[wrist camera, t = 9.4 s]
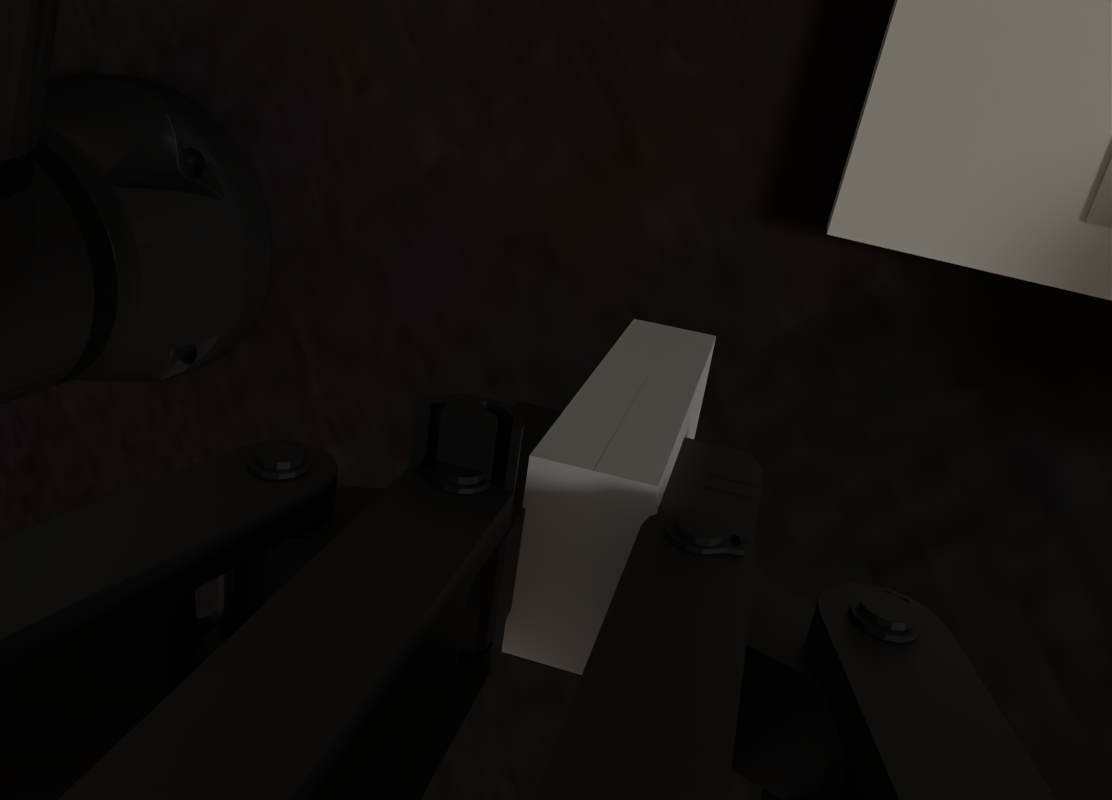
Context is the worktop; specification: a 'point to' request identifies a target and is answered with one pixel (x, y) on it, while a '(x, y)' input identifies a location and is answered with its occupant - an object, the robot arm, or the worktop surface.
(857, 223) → the flat white box
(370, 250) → the worktop surface
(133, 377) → the robot arm
